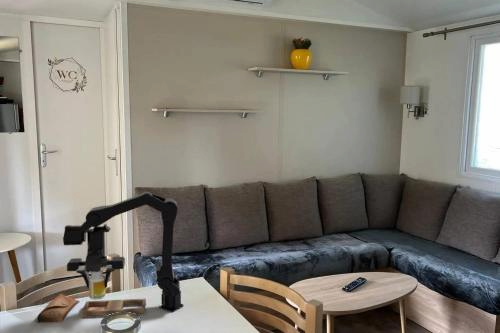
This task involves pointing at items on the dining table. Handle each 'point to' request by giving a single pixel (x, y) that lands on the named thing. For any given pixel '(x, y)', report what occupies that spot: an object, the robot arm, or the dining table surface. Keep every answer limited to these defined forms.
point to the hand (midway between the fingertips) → (97, 287)
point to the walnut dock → (112, 307)
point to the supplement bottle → (97, 285)
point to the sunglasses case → (57, 309)
